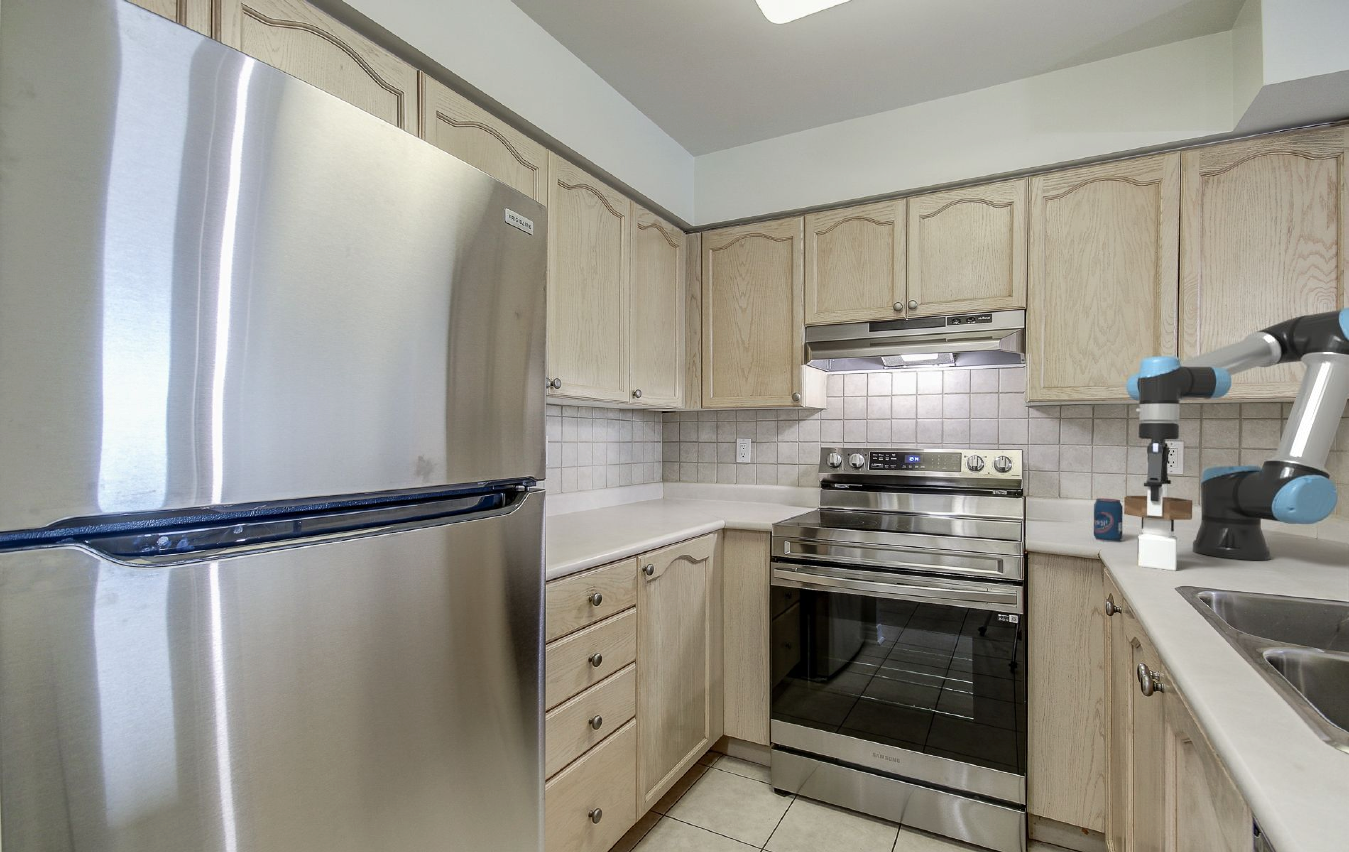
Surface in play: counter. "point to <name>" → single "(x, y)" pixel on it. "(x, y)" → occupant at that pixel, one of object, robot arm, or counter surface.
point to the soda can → (1108, 520)
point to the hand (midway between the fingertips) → (1157, 513)
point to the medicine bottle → (1157, 544)
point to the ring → (1170, 508)
